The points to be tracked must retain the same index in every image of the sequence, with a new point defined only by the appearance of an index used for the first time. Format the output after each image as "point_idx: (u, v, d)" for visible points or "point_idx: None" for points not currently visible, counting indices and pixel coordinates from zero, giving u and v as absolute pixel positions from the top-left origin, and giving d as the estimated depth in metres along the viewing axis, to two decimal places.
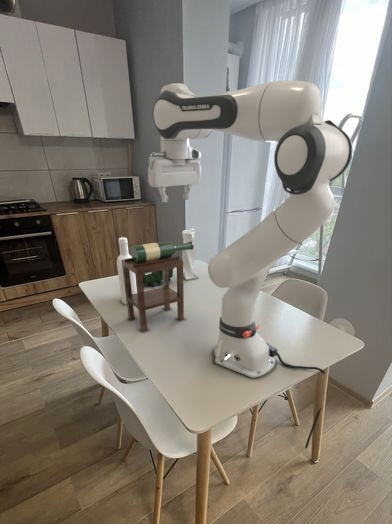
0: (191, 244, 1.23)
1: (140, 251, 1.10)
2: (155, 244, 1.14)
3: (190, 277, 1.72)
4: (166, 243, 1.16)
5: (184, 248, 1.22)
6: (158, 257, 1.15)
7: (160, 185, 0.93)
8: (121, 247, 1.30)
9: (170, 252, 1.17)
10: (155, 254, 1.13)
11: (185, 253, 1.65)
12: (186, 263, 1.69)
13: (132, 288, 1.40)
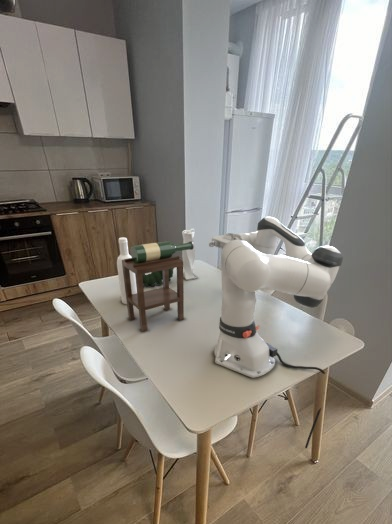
0: (191, 244, 1.23)
1: (140, 251, 1.10)
2: (155, 244, 1.14)
3: (190, 277, 1.72)
4: (166, 243, 1.16)
5: (184, 248, 1.22)
6: (158, 257, 1.15)
7: None
8: (121, 247, 1.30)
9: (170, 252, 1.17)
10: (155, 254, 1.13)
11: (185, 253, 1.65)
12: (186, 263, 1.69)
13: (132, 288, 1.40)
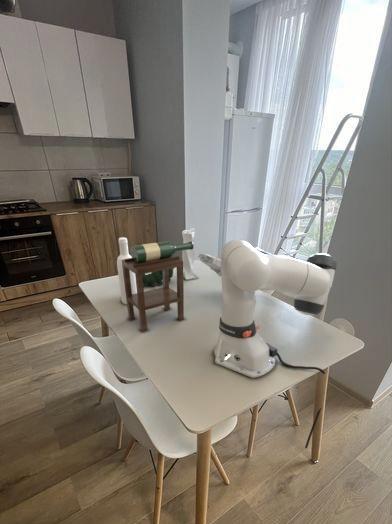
0: (191, 244, 1.23)
1: (140, 251, 1.10)
2: (155, 244, 1.14)
3: (190, 277, 1.72)
4: (166, 243, 1.16)
5: (184, 248, 1.22)
6: (158, 257, 1.15)
7: None
8: (121, 247, 1.30)
9: (170, 252, 1.17)
10: (155, 254, 1.13)
11: (185, 253, 1.65)
12: (186, 263, 1.69)
13: (132, 288, 1.40)
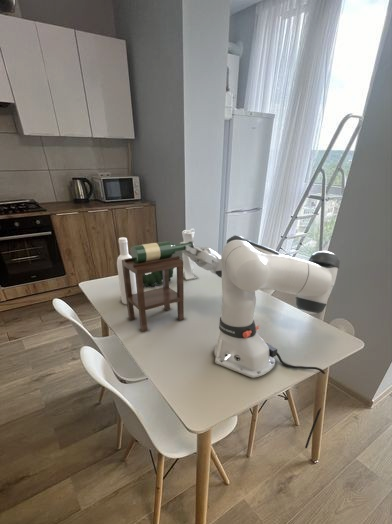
0: (191, 244, 1.23)
1: (140, 252, 1.10)
2: (155, 244, 1.14)
3: (190, 277, 1.72)
4: (166, 243, 1.16)
5: None
6: (158, 257, 1.15)
7: (200, 259, 1.21)
8: (121, 247, 1.30)
9: (170, 252, 1.17)
10: (155, 254, 1.13)
11: None
12: (186, 263, 1.69)
13: (132, 288, 1.40)
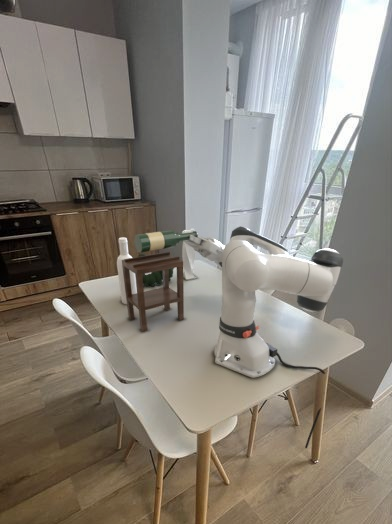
0: (195, 234, 1.22)
1: (144, 240, 1.09)
2: (159, 233, 1.13)
3: (190, 277, 1.72)
4: (170, 232, 1.15)
5: None
6: (162, 246, 1.14)
7: (204, 248, 1.20)
8: (121, 247, 1.30)
9: (174, 241, 1.16)
10: (159, 243, 1.12)
11: (185, 253, 1.65)
12: (186, 263, 1.69)
13: (132, 288, 1.40)
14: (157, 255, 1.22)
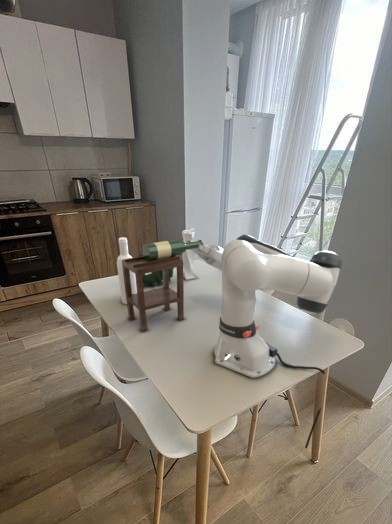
0: (201, 242, 1.25)
1: (152, 249, 1.12)
2: (166, 242, 1.16)
3: (190, 277, 1.72)
4: (177, 241, 1.18)
5: (194, 246, 1.24)
6: (169, 255, 1.18)
7: (210, 257, 1.23)
8: (121, 247, 1.30)
9: (181, 250, 1.19)
10: (166, 252, 1.16)
11: (185, 253, 1.65)
12: (186, 263, 1.69)
13: (132, 288, 1.40)
14: None
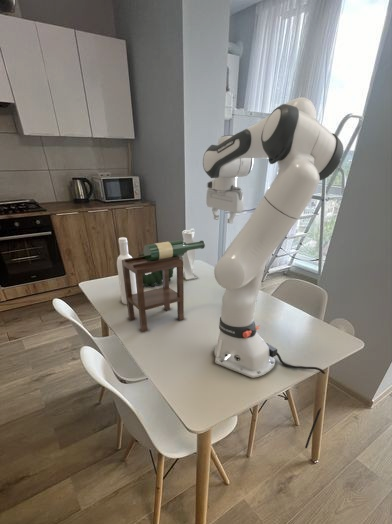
0: (203, 244, 1.25)
1: (154, 253, 1.12)
2: (169, 245, 1.15)
3: (190, 277, 1.72)
4: (179, 244, 1.17)
5: (195, 248, 1.24)
6: (170, 257, 1.18)
7: None
8: (121, 247, 1.30)
9: (182, 253, 1.19)
10: (168, 255, 1.16)
11: (185, 253, 1.65)
12: (186, 263, 1.69)
13: (132, 288, 1.40)
14: None
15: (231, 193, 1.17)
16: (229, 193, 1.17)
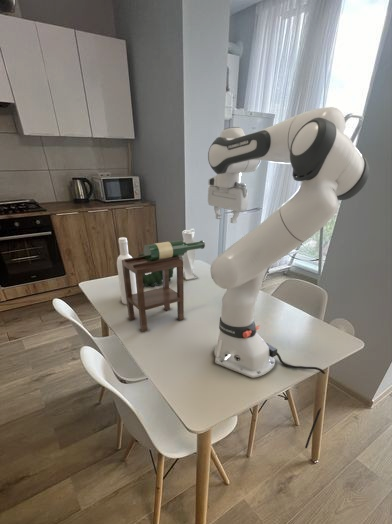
0: (203, 244, 1.25)
1: (154, 253, 1.12)
2: (169, 245, 1.15)
3: (190, 277, 1.72)
4: (180, 244, 1.17)
5: (195, 248, 1.24)
6: (170, 257, 1.18)
7: None
8: (121, 247, 1.30)
9: (182, 253, 1.19)
10: (168, 255, 1.16)
11: (185, 253, 1.65)
12: (186, 263, 1.69)
13: (132, 288, 1.40)
14: None
15: (235, 190, 1.08)
16: (232, 190, 1.09)
